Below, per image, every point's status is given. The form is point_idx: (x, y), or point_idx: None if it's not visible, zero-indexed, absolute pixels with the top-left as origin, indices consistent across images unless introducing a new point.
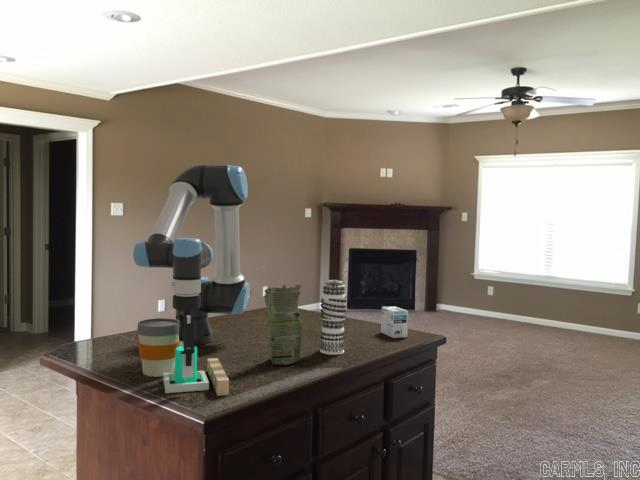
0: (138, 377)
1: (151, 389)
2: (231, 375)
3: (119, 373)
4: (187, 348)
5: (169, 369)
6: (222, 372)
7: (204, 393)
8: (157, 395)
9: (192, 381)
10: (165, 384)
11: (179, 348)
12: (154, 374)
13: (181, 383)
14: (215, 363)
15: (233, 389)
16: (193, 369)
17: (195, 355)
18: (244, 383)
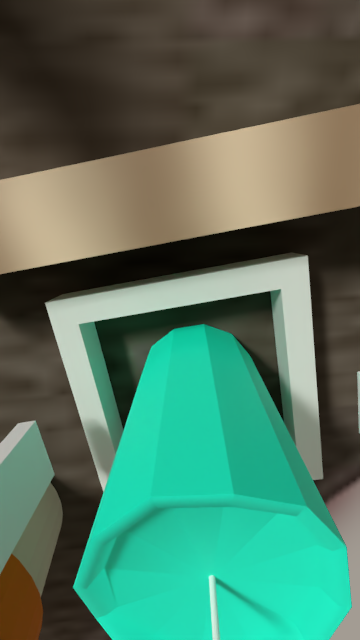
0: (77, 567)
1: None
2: (9, 114)
3: None
4: (152, 570)
5: None
6: (266, 149)
7: (347, 273)
8: (331, 477)
9: (245, 355)
10: None
11: (150, 635)
12: (60, 525)
13: (298, 410)
14: (3, 225)
15: (306, 90)
16: (257, 385)
17: (265, 442)
18: (187, 2)
